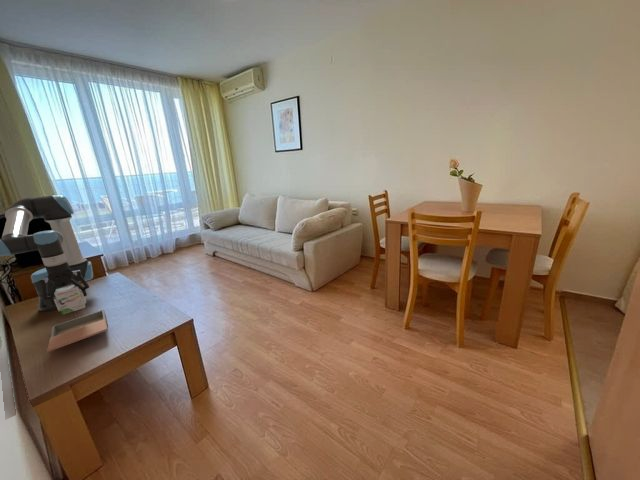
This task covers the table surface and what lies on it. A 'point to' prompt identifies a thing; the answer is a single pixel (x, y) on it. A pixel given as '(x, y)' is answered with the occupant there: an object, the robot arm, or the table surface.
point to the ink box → (69, 299)
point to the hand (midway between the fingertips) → (72, 306)
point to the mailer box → (78, 323)
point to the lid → (76, 334)
